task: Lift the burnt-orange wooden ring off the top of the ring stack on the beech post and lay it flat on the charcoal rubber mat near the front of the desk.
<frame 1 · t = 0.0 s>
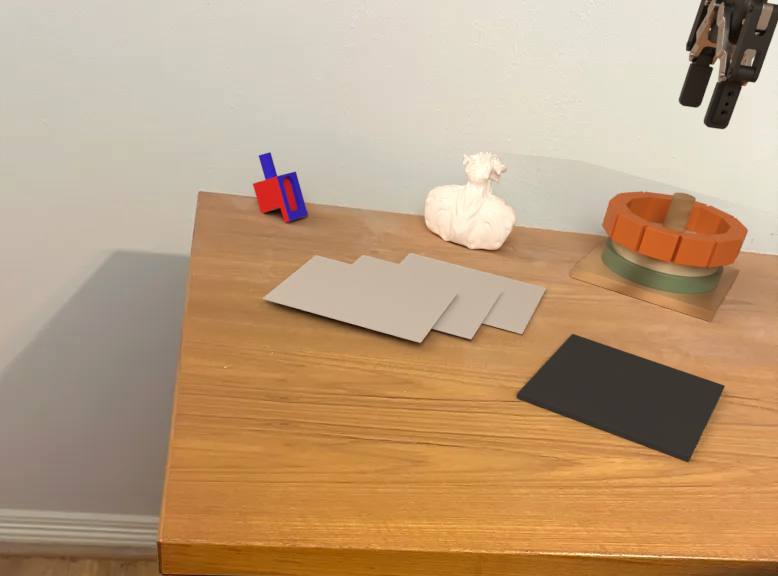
hand: (700, 116, 85), 21 cm above the table, tool pointing down, fingers open, 8 cm apart
bust: (466, 241, 109), on the table
toy building block: (279, 215, 107), on the table
orange ring: (669, 240, 104), point 5 cm above the table, touching ring stack
paper stack: (414, 297, 93), on the table
ring stack: (656, 278, 107), on the table
mat: (623, 394, 82), on the table
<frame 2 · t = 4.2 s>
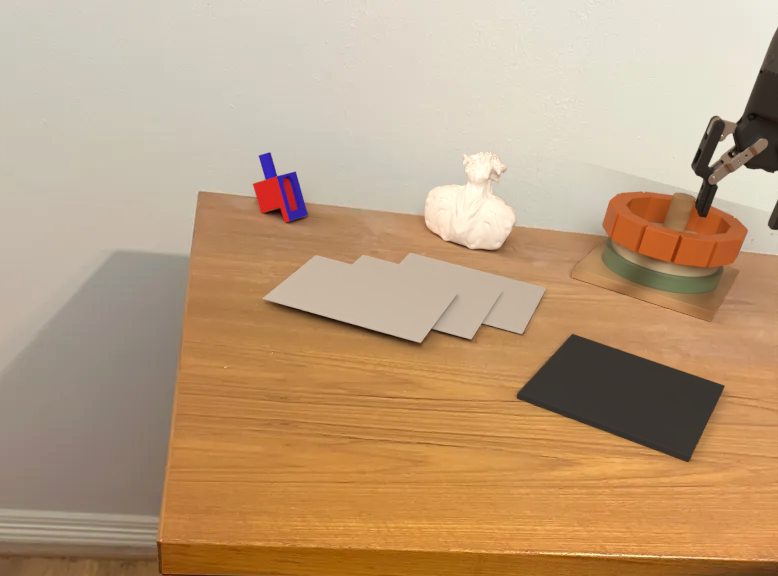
hand: (736, 221, 102), 8 cm above the table, tool pointing down, fingers open, 8 cm apart
nothing on the table moved.
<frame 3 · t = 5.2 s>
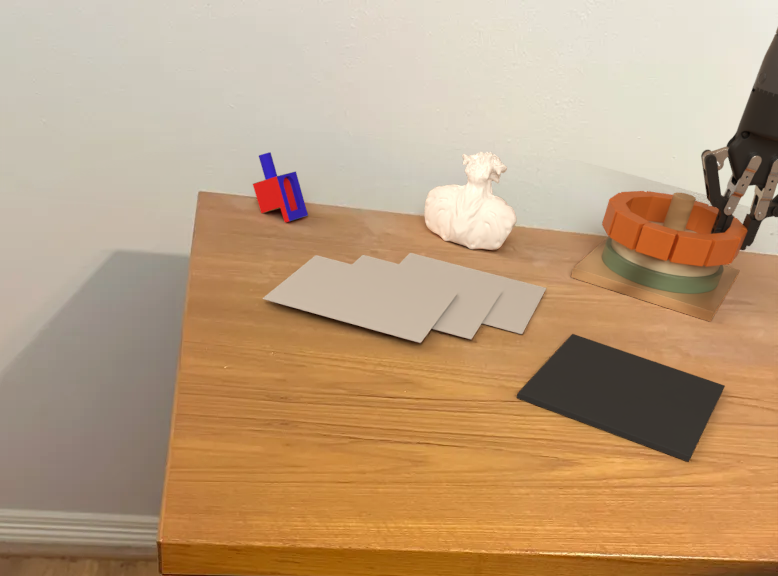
hand: (728, 245, 103), 5 cm above the table, tool pointing down, fingers closed on orange ring, 2 cm apart
orange ring: (668, 239, 104), point 5 cm above the table, touching gripper, ring stack
everything else where it was.
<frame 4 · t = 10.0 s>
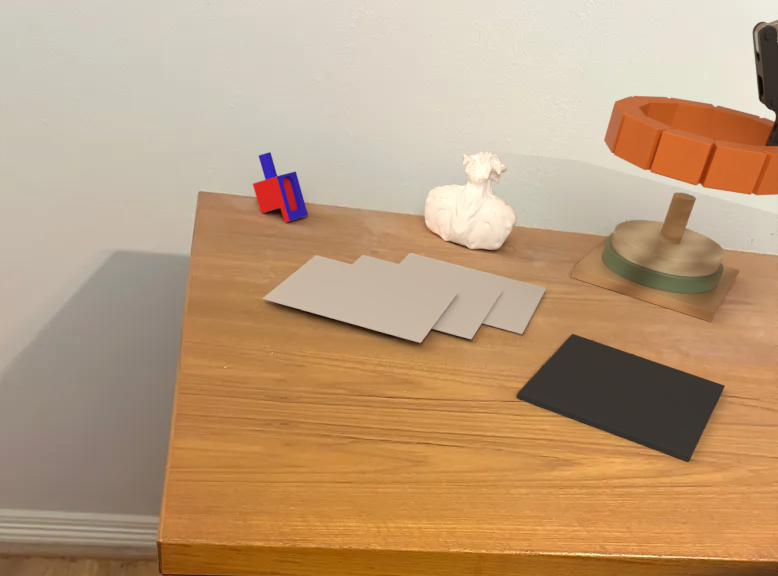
orange ring: (701, 161, 72), point 20 cm above the table, touching gripper
everything else where it was.
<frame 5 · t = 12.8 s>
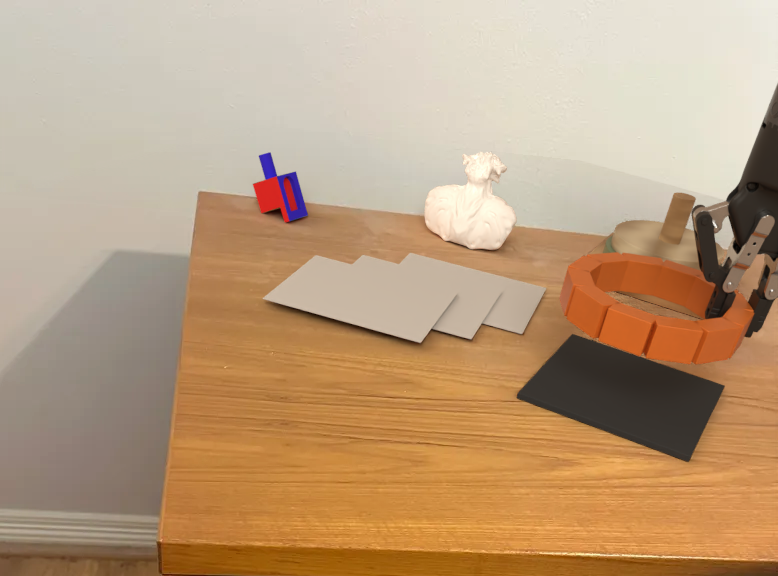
hand: (728, 330, 77), 8 cm above the table, tool pointing down, fingers closed on orange ring, 2 cm apart
orange ring: (648, 320, 77), point 7 cm above the table, touching gripper
everything else where it was.
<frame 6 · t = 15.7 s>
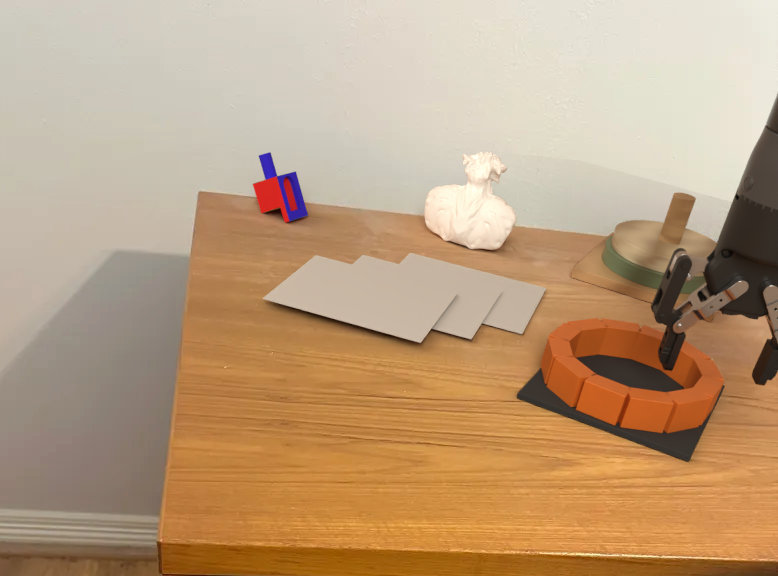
hand: (711, 373, 79), 3 cm above the table, tool pointing down, fingers open, 8 cm apart
orange ring: (625, 386, 82), point 1 cm above the table, touching mat
everything else where it was.
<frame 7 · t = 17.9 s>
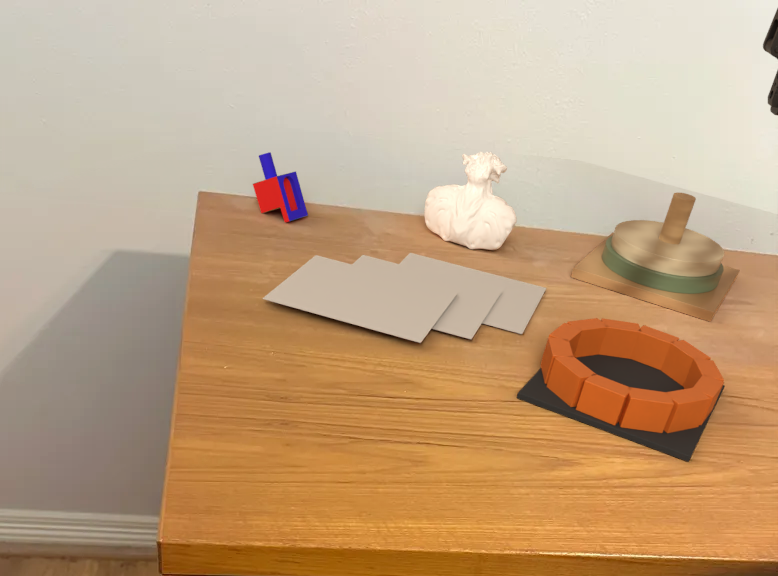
nothing on the table moved.
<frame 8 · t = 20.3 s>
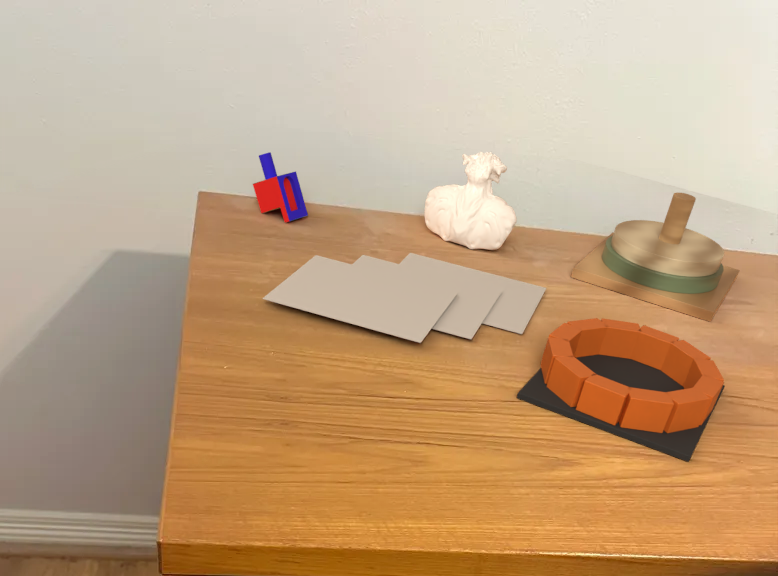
nothing on the table moved.
at the end: orange ring inside the target area on the mat (0.5 cm from its centre), point 0.6 cm above the mat's base; orange ring tilted 0°; the gripper is holding nothing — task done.
